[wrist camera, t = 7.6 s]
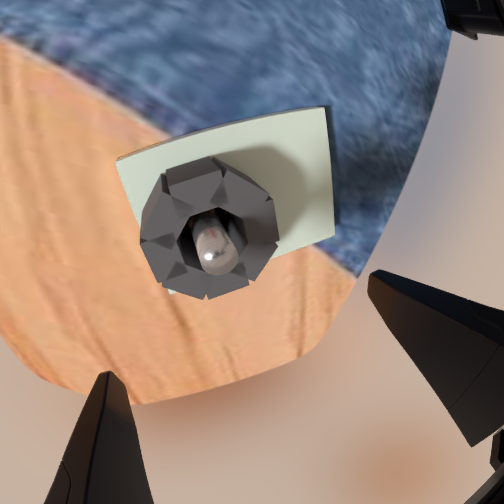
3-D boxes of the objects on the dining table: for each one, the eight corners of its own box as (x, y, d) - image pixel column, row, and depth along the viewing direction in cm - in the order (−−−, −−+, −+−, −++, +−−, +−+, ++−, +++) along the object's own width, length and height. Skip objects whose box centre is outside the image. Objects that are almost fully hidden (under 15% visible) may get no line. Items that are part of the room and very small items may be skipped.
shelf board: (314, 106, 15) (324, 107, 14) (326, 228, 20) (334, 235, 19) (117, 158, 13) (114, 162, 12) (168, 283, 18) (170, 294, 17)
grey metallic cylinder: (207, 192, 16) (233, 237, 11) (213, 215, 17) (241, 267, 12) (181, 200, 16) (195, 249, 11) (189, 223, 17) (206, 280, 12)
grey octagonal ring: (244, 146, 14) (266, 157, 12) (264, 244, 18) (284, 272, 15) (129, 182, 13) (122, 203, 11) (167, 277, 17) (172, 312, 14)
